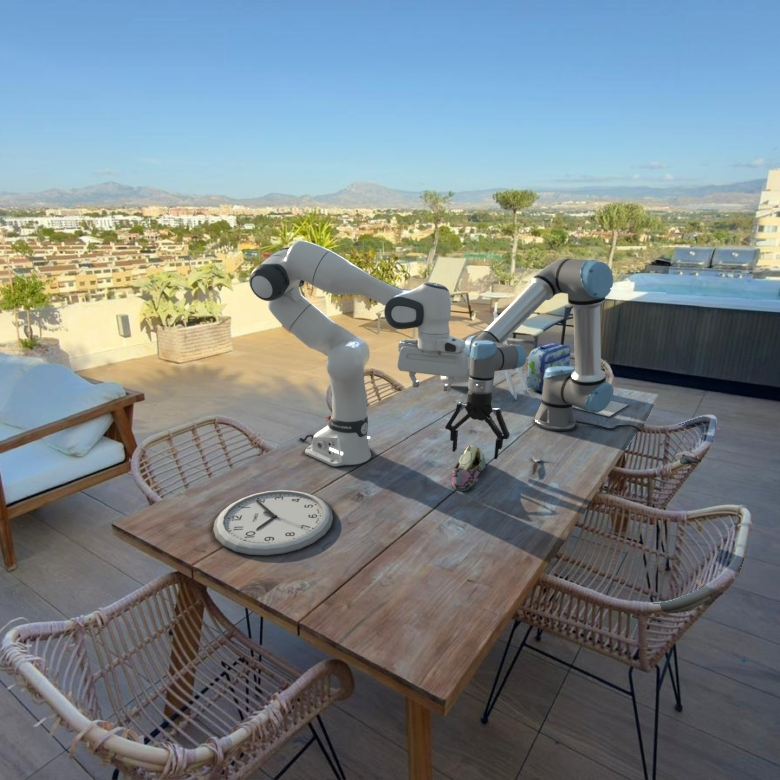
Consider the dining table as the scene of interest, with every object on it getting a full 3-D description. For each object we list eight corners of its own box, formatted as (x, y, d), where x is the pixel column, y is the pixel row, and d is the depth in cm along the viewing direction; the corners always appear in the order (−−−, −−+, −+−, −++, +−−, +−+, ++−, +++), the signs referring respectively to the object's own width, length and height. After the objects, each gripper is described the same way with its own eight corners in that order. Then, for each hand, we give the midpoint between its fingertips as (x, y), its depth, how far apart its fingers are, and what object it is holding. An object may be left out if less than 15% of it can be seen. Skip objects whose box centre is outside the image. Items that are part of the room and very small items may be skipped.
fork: (528, 475, 162) (529, 469, 161) (533, 455, 176) (534, 449, 176) (537, 476, 161) (537, 470, 160) (541, 456, 175) (542, 451, 175)
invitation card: (608, 416, 214) (573, 407, 224) (608, 416, 214) (573, 408, 224) (628, 404, 229) (594, 396, 238) (628, 405, 229) (594, 397, 238)
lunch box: (542, 395, 240) (547, 351, 233) (522, 390, 247) (526, 347, 241) (569, 384, 257) (575, 343, 251) (550, 380, 264) (554, 339, 258)
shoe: (490, 462, 171) (492, 437, 168) (473, 495, 149) (475, 467, 147) (465, 457, 174) (466, 433, 171) (444, 489, 152) (446, 462, 150)
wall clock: (331, 546, 121) (198, 551, 119) (331, 552, 122) (199, 557, 119) (333, 485, 150) (227, 488, 147) (334, 490, 150) (227, 493, 148)
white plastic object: (461, 429, 252) (437, 405, 227) (444, 352, 274) (420, 323, 250) (535, 404, 240) (518, 377, 215) (510, 326, 262) (492, 293, 237)
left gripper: (394, 340, 148) (393, 387, 152) (465, 347, 140) (462, 396, 145) (402, 336, 153) (401, 381, 157) (471, 343, 146) (468, 390, 150)
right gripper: (438, 388, 163) (434, 451, 169) (519, 399, 154) (512, 465, 161) (444, 382, 170) (441, 443, 176) (522, 393, 161) (516, 456, 167)
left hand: (431, 388), depth 151 cm, fingers open, 8 cm apart
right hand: (475, 454), depth 168 cm, fingers open, 13 cm apart
